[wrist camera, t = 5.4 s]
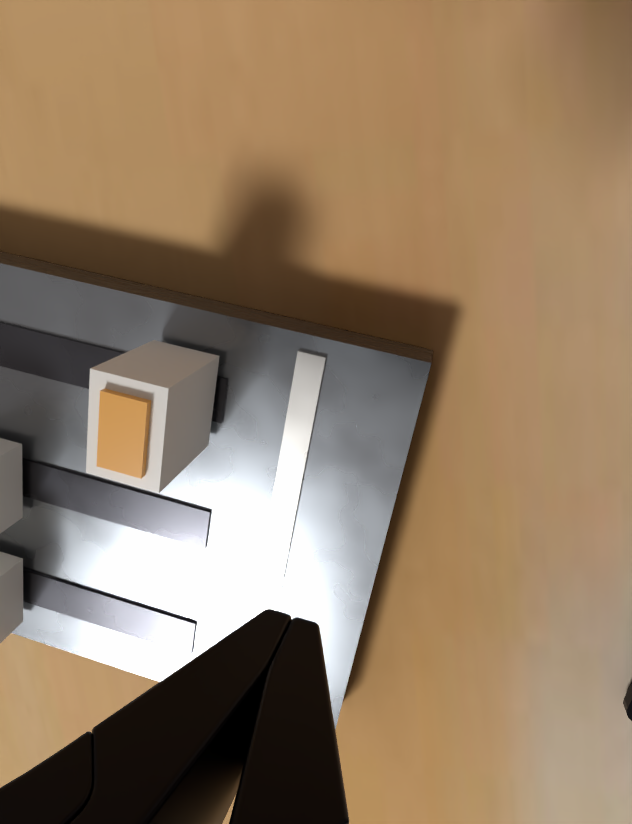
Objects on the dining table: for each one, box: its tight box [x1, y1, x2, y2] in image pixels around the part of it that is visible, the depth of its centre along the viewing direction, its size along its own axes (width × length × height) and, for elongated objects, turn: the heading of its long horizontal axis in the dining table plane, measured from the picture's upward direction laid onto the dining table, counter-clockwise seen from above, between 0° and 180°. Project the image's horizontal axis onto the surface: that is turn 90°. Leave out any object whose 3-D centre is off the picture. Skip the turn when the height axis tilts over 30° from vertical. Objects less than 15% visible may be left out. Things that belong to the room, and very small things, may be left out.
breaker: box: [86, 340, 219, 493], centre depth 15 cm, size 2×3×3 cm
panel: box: [0, 251, 433, 729], centre depth 20 cm, size 18×14×2 cm
